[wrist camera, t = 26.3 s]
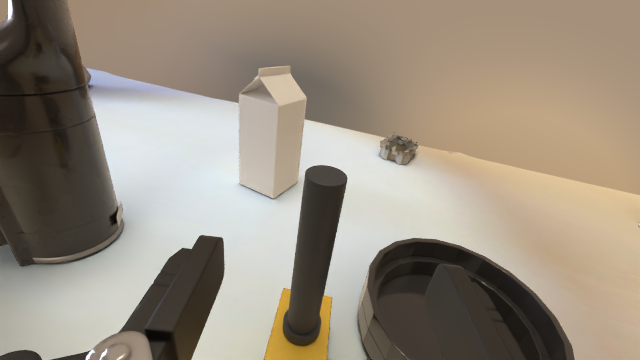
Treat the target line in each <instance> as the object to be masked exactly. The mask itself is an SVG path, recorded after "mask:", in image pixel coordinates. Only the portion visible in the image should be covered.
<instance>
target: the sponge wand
mask: <svg viewBox="0 0 640 360" xmlns="http://www.w3.org/2000/svg"><path fill="white" fill-rule="evenodd" d="M346 184H347V176H346V174H345V173H344V172H343V171H341V170H339V169H337V168H334V167H331V166H324V165H318V166H313V167H310V168H308V169H307V170H306V172H305V180H304V188H303V196H302V204H301V212H300V220H299V228H298V236H297V244H296V252H295V260H294V269H293V277H292V285H291V289H285V288H283V291H282V295H281V298H280V302H279V306H278V309H277V313H276V317H275V320H274V324H273V328H272V331H271V335H270V338H269V342H268V346H267V349H266V353H265V357H264V360H327V350H328V338H329V327H330V315H331V303H332V297H329V296H324V290H325V285H326V280H327V276H328V271H329V266H330V261H331V256H332V251H333V247H334V242H335V237H336V232H337V227H338V222H339V218H340V213H341V208H342V203H343V198H344V193H345V189H346Z"/></svg>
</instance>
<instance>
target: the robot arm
mask: <svg viewBox="0 0 640 360" xmlns="http://www.w3.org/2000/svg"><path fill="white" fill-rule="evenodd" d="M8 6H9V12H8V15H7V17H6V18H5V19H4V20H3V21H1V22H0V246H1V245H5V244H9V246H10V248H11V250H12V252H13V254H14V256H15V258H16V260H17V262H18V264H19V266H24V265H27V264H31V263H44V264H52V263H62V262H67V261H72V260H76V259H79V258H82V257H85V256H88V255H90V254H93V253H95V252H97V251H99V250H101V249H103V248H104V247H106V246H107V245H109V244H110V243H112V242H113V241H114V240H115V239H116V238H117V237H118V236H119V235H120V233H121V231H122V229H123V220H122V214H123V208H122V203H121V202H120V206H119V207H118V204H117V200H116V196H115V192H114V188H113V184H112V180H111V176H110V172H109V168H108V164H107V160H106V156H105V152H104V148H103V144H102V140H101V136H100V132H99V128H98V124H97V120H96V116H95V112H94V108H93V104H92V100H91V96H90V92H89V88H88V84H87V80H86V76H85V73H84V69H83V65H82V61H81V56H80V52H79V47H78V43H77V39H76V35H75V30H74V27H73V22H72V18H71V14H70V9H69V4H68V0H8ZM223 276H224V243H223V238H221V237H213V236H204V235H201V236H199V238H198V239H197V241H196V243H195V244H194V246H193V248H192V249H186V248H182V249H181V250H179V251H178V252H177V253H175V254H174V255H173V256H171V257H170V258H169V259H168V261H167V262H166V264H165V265H164V267H163V268H162V270H161V273H159V274H158V276H157V277H156V279H155V280H154V283H153V284H152V285H151V286H150V288H149V289H148V291H147V292H146V294H145V295H144V297H143V298H142V300H141V301H140V303H139V304H138V306H137V307H136V309H135V310H134V312H133V313H132V315H131V316H130V318H129V319H128V321H127V322H126V324H125V325H124V327H123V328H122V329H121V330H120V331H119V332H118V333H117V334H114V335H112V336H110V337H108V338H106V339H104V340H103V341H101V342H100V343H99V344H98V345H96V346H95V347H94V348H93V349H92V350H91V351H88V352H84V353H81V354H76V355H71V356H66V357H61V358H57V359H52V360H191V358H192V356H193V353H194V351H195V349H196V346H197V344H198V341H199V339H200V336H201V334H202V331H203V329H204V326H205V324H206V321H207V319H208V316H209V314H210V311H211V309H212V306H213V304H214V301H215V299H216V296H217V294H218V291H219V289H220V286H221V284H222V280H223ZM425 306H426V310H427V313H428V316H429V319H430V322H431V324H432V327H433V330H434V333H435V336H436V339H437V342H438V345H439V348H440V351H441V353H442V356H443V359H444V360H526V358H525V356H524V355H523V353H522V351H521V349H520V348H519V346H518V344H517V343H516V341H515V339H514V338H513V336H512V334H511V332H510V331H509V329H508V327H507V326H506V324H505V323H503V319H502V317H501V316H500V314H499V312H498V311H496V307H495V305H494V304H493V302H492V300H491V299H490V297H489V295H488V294H487V293H486V292H485V291H484V290H483V289H482V288H481V287H480V286H479V285H478V284H477V283H476V282H471V280H470V278H469V277H468V275H467V273H466V271H465V270H464V268H463V267H461V266H455V265H447V264H439V265H438V266H437V268H436V270H435V272H434V275H433V277H432V279H431V281H430V283H429V285H428V288H427V290H426V293H425ZM0 360H42V359H41V357H40V356H39V354H37V353H36V352H33V351H29V350H20V351H14V352H11V353H7V354H4V355H2V356H0Z"/></svg>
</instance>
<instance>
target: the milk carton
mask: <svg viewBox="0 0 640 360" xmlns="http://www.w3.org/2000/svg"><path fill="white" fill-rule="evenodd" d="M306 99H307V98H306V96H305V95H304V93H303V92H302V91H301V89H300V88H299V86H298V85H297V83H296V82H295V80H294V79H293V77H292V76H291V74H290V66H280V67H269V68H259V74H258V76H257V77H255V78H254V81H253V82H252V83H251V84H250V85H248V86H247V87H246V88H245V89H244V90H243V91H241V92H240V93H239V183H240V184H242V185H244V186H246V187H248V188H251V189H253V190H255V191H257V192H259V193H262V194H264V195H266V196H268V197H271V198H275V197H277V196H278V195H280V194H281V193H283V192H284V191H286V190H287V189H288V188H290V187H291V186H293V185H294V184H296V183H297V181H298V173H299V164H300V154H301V145H302V136H303V127H304V118H305V108H306Z"/></svg>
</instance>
